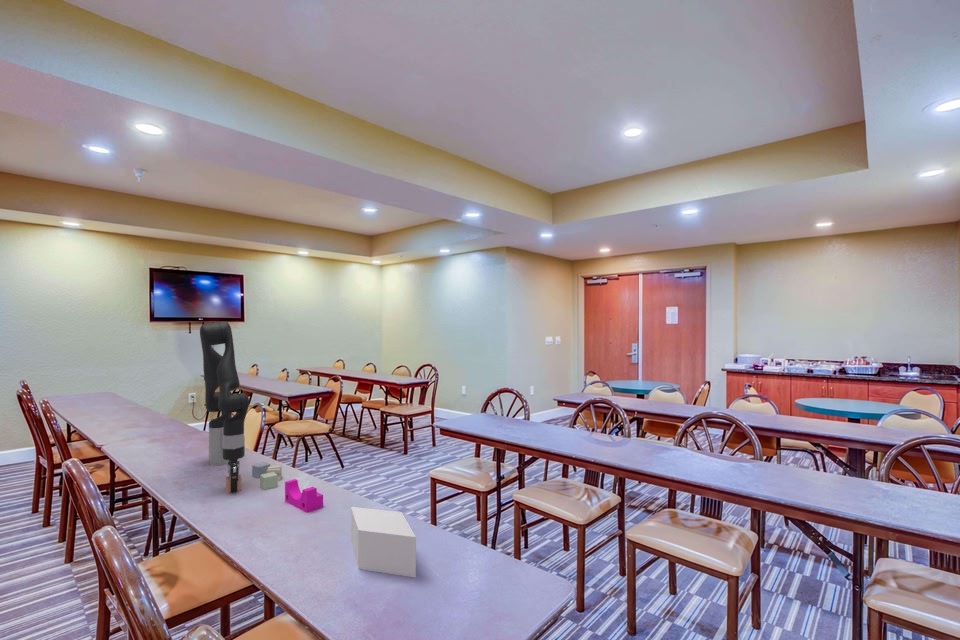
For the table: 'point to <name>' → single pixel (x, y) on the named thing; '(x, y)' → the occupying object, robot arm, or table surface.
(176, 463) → the table surface
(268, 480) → the cube sage
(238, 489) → the cube terracotta
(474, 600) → the table surface
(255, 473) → the cube slate
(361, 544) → the white rectangular block
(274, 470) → the cube cream
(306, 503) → the toy block
